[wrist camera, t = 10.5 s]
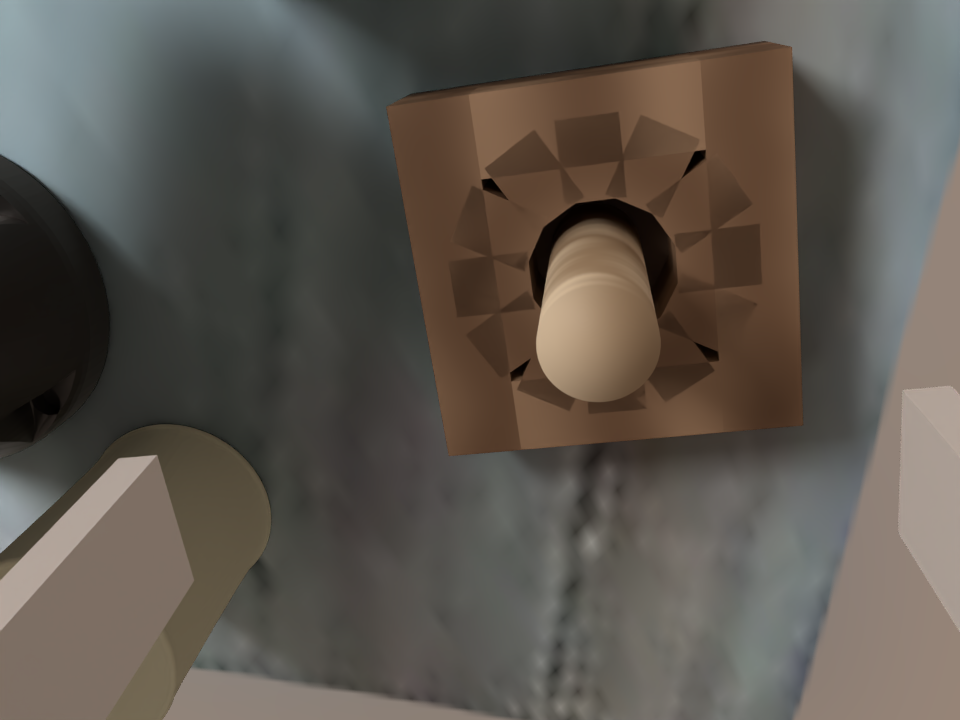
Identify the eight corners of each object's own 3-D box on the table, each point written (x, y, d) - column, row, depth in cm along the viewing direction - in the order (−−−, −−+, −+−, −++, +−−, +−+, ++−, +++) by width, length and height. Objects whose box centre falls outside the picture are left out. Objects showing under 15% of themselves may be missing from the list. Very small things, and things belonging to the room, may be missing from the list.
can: (80, 417, 45) (-87, 555, 34) (264, 428, 44) (155, 573, 33) (107, 577, 48) (-37, 751, 37) (278, 590, 47) (184, 771, 36)
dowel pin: (558, 293, 39) (545, 408, 28) (546, 209, 37) (527, 294, 26) (644, 282, 38) (666, 395, 27) (635, 197, 37) (654, 278, 26)
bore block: (463, 406, 42) (448, 456, 38) (410, 94, 37) (386, 106, 33) (777, 376, 40) (803, 425, 35) (764, 41, 35) (791, 47, 31)
